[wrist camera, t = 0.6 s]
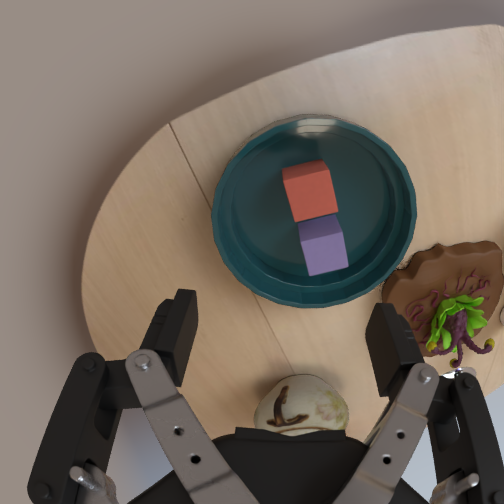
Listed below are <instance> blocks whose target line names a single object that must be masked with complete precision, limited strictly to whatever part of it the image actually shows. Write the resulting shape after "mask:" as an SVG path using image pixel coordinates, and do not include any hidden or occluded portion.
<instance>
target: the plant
mask: <svg viewBox="0 0 504 504" xmlns="http://www.w3.org/2000/svg"><path fill="white" fill-rule="evenodd" d="M503 285H504V276H503V274H502V250H501V249H500V248H499V247H498V245H497V244H496V243H495V242H489V241H482V242H479V243H468V242H467V243H461V244H456V245H453V246H450V247H445V246H442V245H441V244H437V245H436V246H435V247H434V248H433V249H432V250H429V251H420V252H417V253H416V254H415V255H414V257H413V259H412V261H411V263H410V265H409V266H408V267H407V268H406V269H405V270H395V271H393V273H392V274H391V275H390V277H389V278H388V280H387V281H386V283H385V285H384V287H383V291H382V301H383V303H392V304H393V305H394V307H395V309H396V312H397V314H402V316H403V317H404V318H405V319H406V320H407V321H408V322H409V324H410V327H411V329H412V332H413V334H414V336H415V339H416V341H417V343H418V346H419V348H420V351H421V354H422V356H423V357H425V356H426V357H433V356H435V355H438V354H439V355H445V354H447V353H449V352H453V353H455V352H456V351H457V353H458V360H457V359H455V358H454V359H452V360H451V361H450V366H451V367H452V368H457V367H458V366H460V364H461V361H462V355H463V352H462V344H466V346H467V347H469V349H471V350H473V351H474V352H477V354H486V353H489V352H490V351H492V349H493V347H494V344H495V342H494V340H493V339H491V338H490V339H487V340H486V342H485V344H484V349H481V348H478V347H477V345H475V344H474V342H473V341H472V340H471V338H473V337H474V336H476V335H477V334H478V333H479V332H480V331H481V329H482V328H483V327H484V326H486V325H487V322H488V320H489V319H490V317H491V316H492V314H493V312H494V310H495V308H496V306H497V304H498V302H499V299H500V295H501V292H502V289H503Z"/></svg>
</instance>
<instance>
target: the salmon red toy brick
mask: <svg viewBox="0 0 504 504" xmlns="http://www.w3.org/2000/svg"><path fill="white" fill-rule="evenodd" d="M282 176H283V183H284V187H285V190H286V193H287V197H288V200H289V204H290V207H291V211H292V214H293V218H294V221H295V222H299V221H303V220H307V219H311V218H315V217H319V216H323V215H327V214H331V213H335V212H338V207H337V202H336V197H335V193H334V188H333V184H332V180H331V175H330V171H329V169H328V167H327V166H326V164H325V163H324V161H323V160H322V159H318V160H314V161H310V162H306V163H302V164H298V165H294V166H290V167H286V168H283V169H282Z"/></svg>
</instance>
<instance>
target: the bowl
mask: <svg viewBox="0 0 504 504" xmlns="http://www.w3.org/2000/svg"><path fill="white" fill-rule="evenodd" d="M318 159H322V160H323V161H324V163H325V164H326V166H327V167H328V169H329V171H330V175H331V180H332V184H333V188H334V193H335V197H336V202H337V207H338V212H335V213H331V214H327V215H323V216H319V217H315V218H311V219H307V220H303V221H299V222H295V221H294V218H293V214H292V211H291V207H290V204H289V200H288V197H287V193H286V190H285V187H284V183H283V176H282V169H283V168H286V167H290V166H294V165H298V164H302V163H306V162H310V161H314V160H318ZM334 214H335V215H336V218H337V220H338V222H339V225H340V227H341V230H342V232H343V237H344V243H345V248H346V254H347V260H348V267H346V268H342V269H338V270H334V271H330V272H325V273H321V274H317V275H313V276H309V273H308V269H307V265H306V261H305V258H304V254H303V250H302V246H301V243H300V236H299V230H298V223H301V222H305V221H309V220H313V219H317V218H321V217H325V216H330V215H334ZM416 218H417V207H416V195H415V189H414V186H413V184H412V181H411V178H410V176H409V173H408V170H407V168H406V166H405V165H404V163H403V162H402V161H401V159H400V158H399V157H398V155H397V154H396V153H395V152H394V150H393V149H392V148H391V147H390V146H389V145H388V144H387V143H386V142H384V141H383V140H382V139H380V138H379V137H377V136H376V135H375V134H373V133H372V132H370V131H369V130H367V129H366V128H364V127H362V126H359V125H357V124H355V123H353V122H350V121H347V120H344V119H341V118H338V117H334V116H331V115H317V114H302V115H297V116H293V117H289V118H285V119H281V120H277V121H274V122H273V123H271V124H269V125H268V126H266V127H264V128H262V129H261V130H259V131H257V132H256V133H254V134H253V135H251V136H250V137H249V138H248V139H247V140H246V142H245V143H244V144H243V145H242V146H241V147H240V148H239V149H238V150H237V151H236V152H235V153H234V155H233V156H232V158H231V160H230V161H229V163H228V165H227V167H226V169H225V171H224V173H223V175H222V177H221V179H220V181H219V183H218V185H217V187H216V190H215V195H214V201H213V206H212V212H211V219H212V227H213V235H214V241H215V243H216V246H217V248H218V250H219V253H220V255H221V257H222V260H223V262H224V263H225V265H226V266H227V267H228V268H229V270H230V271H231V272H232V273H233V275H234V276H235V277H236V278H237V280H238V281H239V282H241V283H242V284H243V285H245V286H246V287H247V288H249V289H250V290H251V291H253V292H254V293H255V294H257V295H259V296H261V297H264V298H266V299H268V300H270V301H273V302H275V303H277V304H282V305H287V306H292V307H297V308H324V307H325V308H326V307H330V306H334V305H339V304H343V303H347V302H349V301H351V300H354V299H356V298H358V297H360V296H362V295H364V294H366V293H368V292H370V291H371V290H372V289H374V288H375V287H376V286H378V285H379V284H380V283H382V282H383V281H384V280H386V279H387V278H388V277H389V275H390V274H391V273H392V272H393V271H394V269H395V268H396V267H397V266H398V265H399V263H400V262H401V261H402V259H403V257H404V255H405V253H406V251H407V249H408V247H409V245H410V243H411V241H412V238H413V234H414V229H415V224H416Z"/></svg>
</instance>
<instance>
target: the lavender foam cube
mask: <svg viewBox="0 0 504 504" xmlns="http://www.w3.org/2000/svg"><path fill="white" fill-rule="evenodd" d="M298 230H299V236H300V243H301V246H302V250H303V254H304V258H305V261H306V265H307V269H308V273H309V276H313V275H317V274H321V273H325V272H330V271H334V270H338V269H342V268H346V267H348V260H347V254H346V248H345V243H344V237H343V232H342V230H341V227H340V225H339V222H338V220H337V218H336V215H335V214H334V215H330V216H325V217H321V218H317V219H313V220H309V221H305V222H301V223H298Z"/></svg>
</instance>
